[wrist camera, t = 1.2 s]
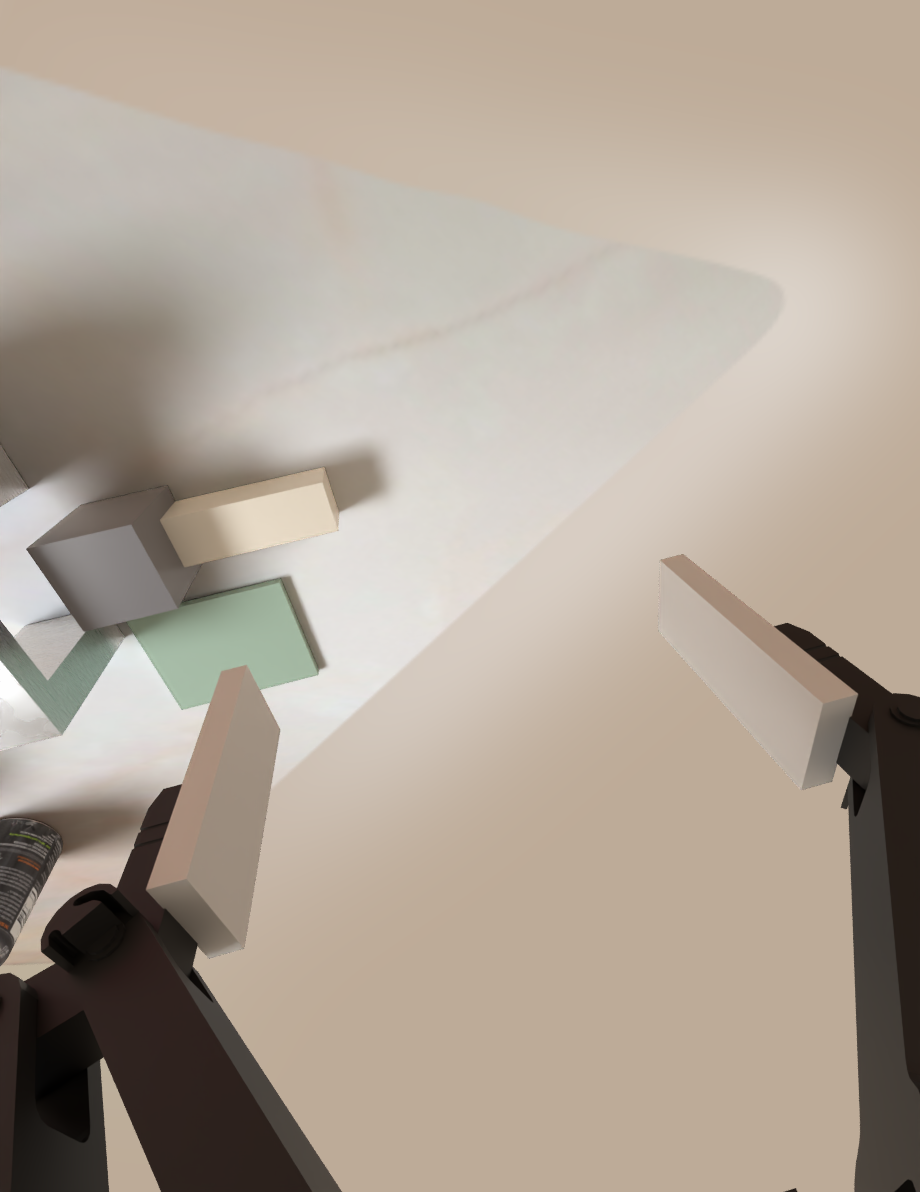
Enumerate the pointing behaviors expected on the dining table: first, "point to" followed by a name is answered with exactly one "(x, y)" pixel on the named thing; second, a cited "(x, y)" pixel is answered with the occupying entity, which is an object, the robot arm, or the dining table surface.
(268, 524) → the plug
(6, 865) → the pill bottle
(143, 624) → the mat
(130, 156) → the dining table surface
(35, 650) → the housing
